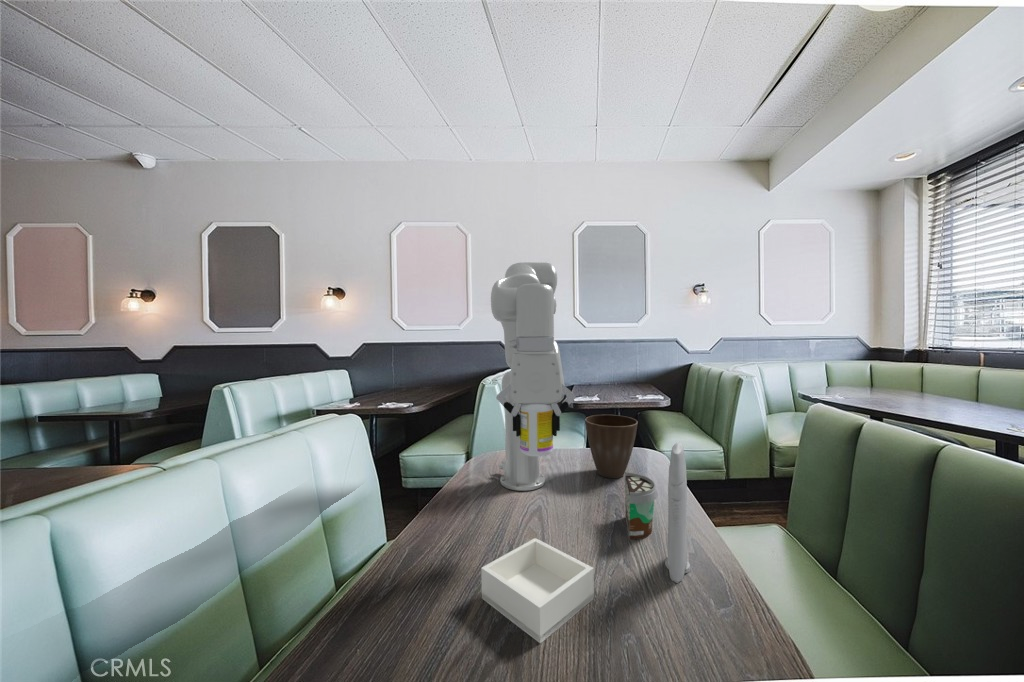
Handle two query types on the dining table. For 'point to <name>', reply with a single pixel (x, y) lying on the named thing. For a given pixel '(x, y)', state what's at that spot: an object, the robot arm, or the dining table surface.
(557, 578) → the box
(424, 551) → the dining table surface
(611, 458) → the plant pot
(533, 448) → the supplement bottle
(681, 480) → the tall pale column
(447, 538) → the dining table surface
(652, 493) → the food container
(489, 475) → the dining table surface
